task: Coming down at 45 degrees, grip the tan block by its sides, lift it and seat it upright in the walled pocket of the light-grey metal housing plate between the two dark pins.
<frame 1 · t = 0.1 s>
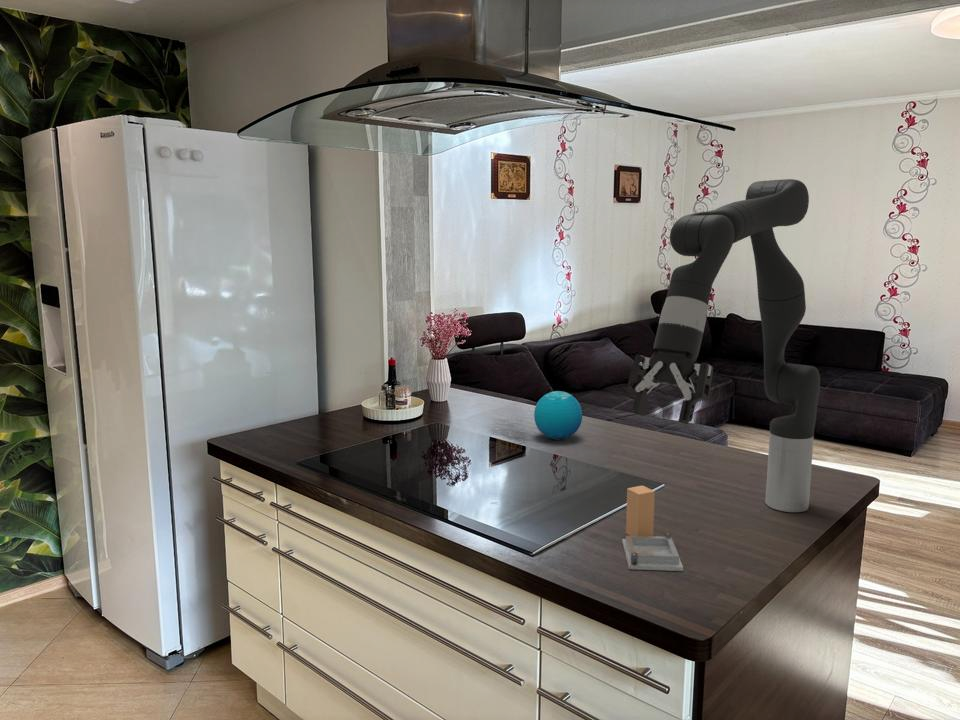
hand: (660, 419, 119), 31 cm above the worktop, tool tilted 20°, fingers open, 8 cm apart
decorative orb: (557, 439, 221), on the worktop
housing plate: (651, 556, 139), on the worktop
tan block: (639, 535, 149), on the worktop
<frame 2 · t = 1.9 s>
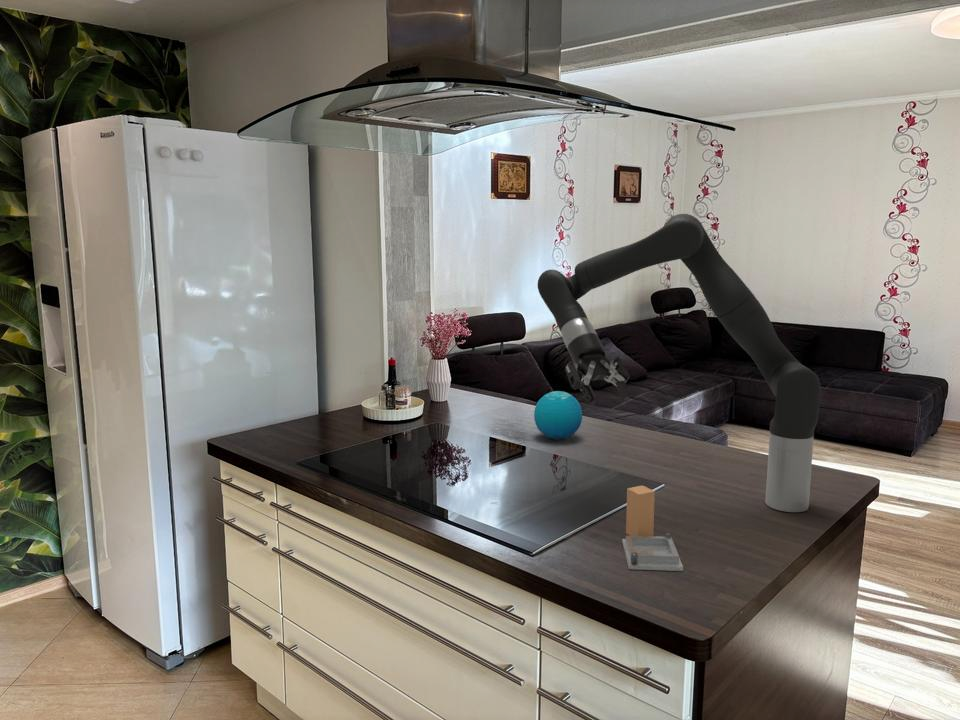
hand: (610, 400, 154), 27 cm above the worktop, tool tilted 45°, fingers open, 8 cm apart
nothing on the worktop moved.
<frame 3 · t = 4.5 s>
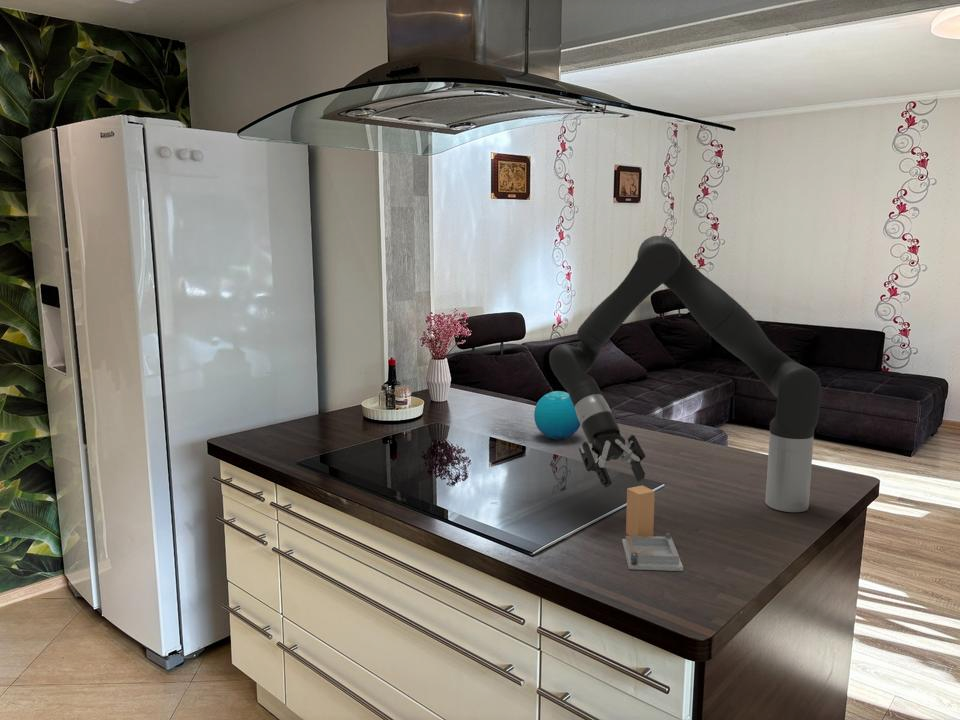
hand: (625, 482, 152), 10 cm above the worktop, tool tilted 45°, fingers open, 8 cm apart
nothing on the worktop moved.
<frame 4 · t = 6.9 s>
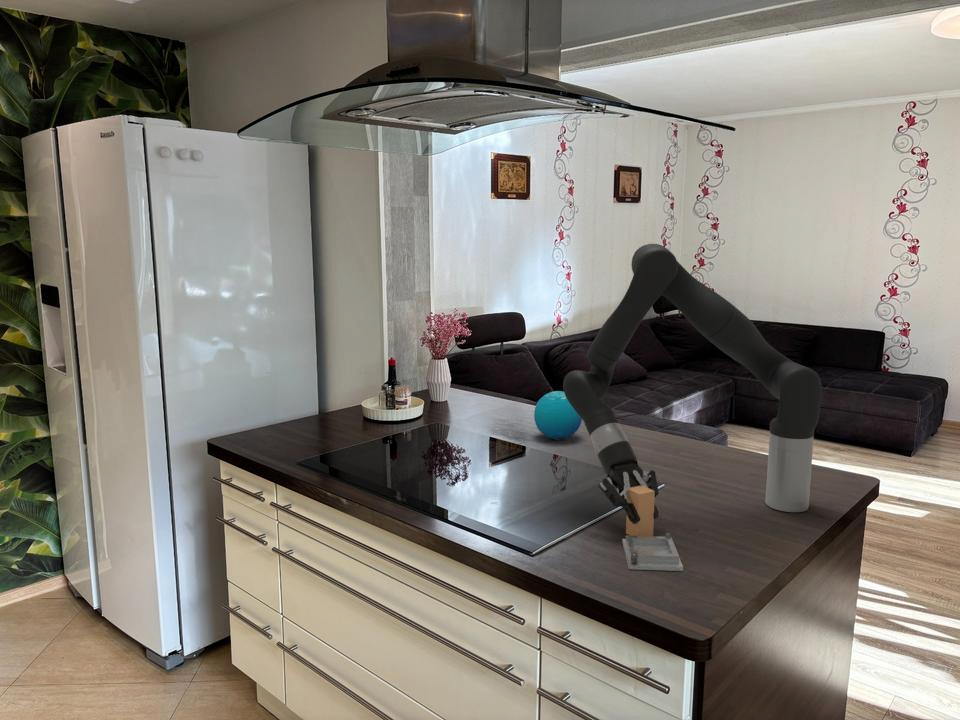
hand: (646, 519, 146), 4 cm above the worktop, tool tilted 45°, fingers closed on tan block, 4 cm apart
tan block: (639, 535, 149), on the worktop, touching gripper
everything else where it was.
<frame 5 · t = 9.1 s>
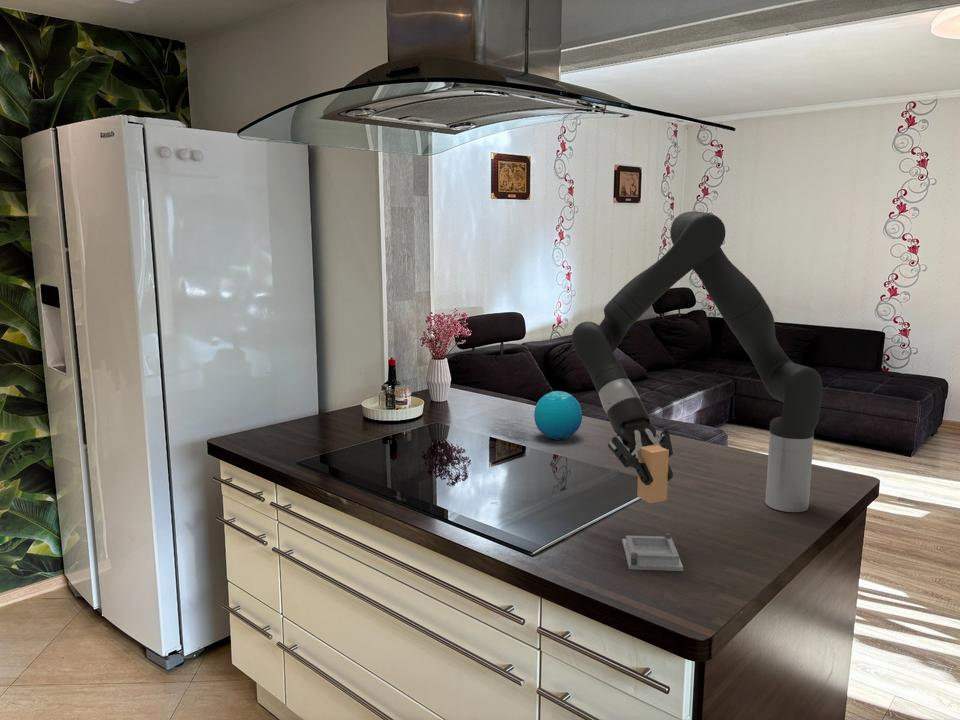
hand: (659, 481, 134), 16 cm above the worktop, tool tilted 45°, fingers closed on tan block, 4 cm apart
tan block: (652, 498, 137), point 12 cm above the worktop, touching gripper
everything else where it was.
when the fingers open (7 cm above the worktop, at t = 11.6 s): tan block drops 2 cm, resting on housing plate.
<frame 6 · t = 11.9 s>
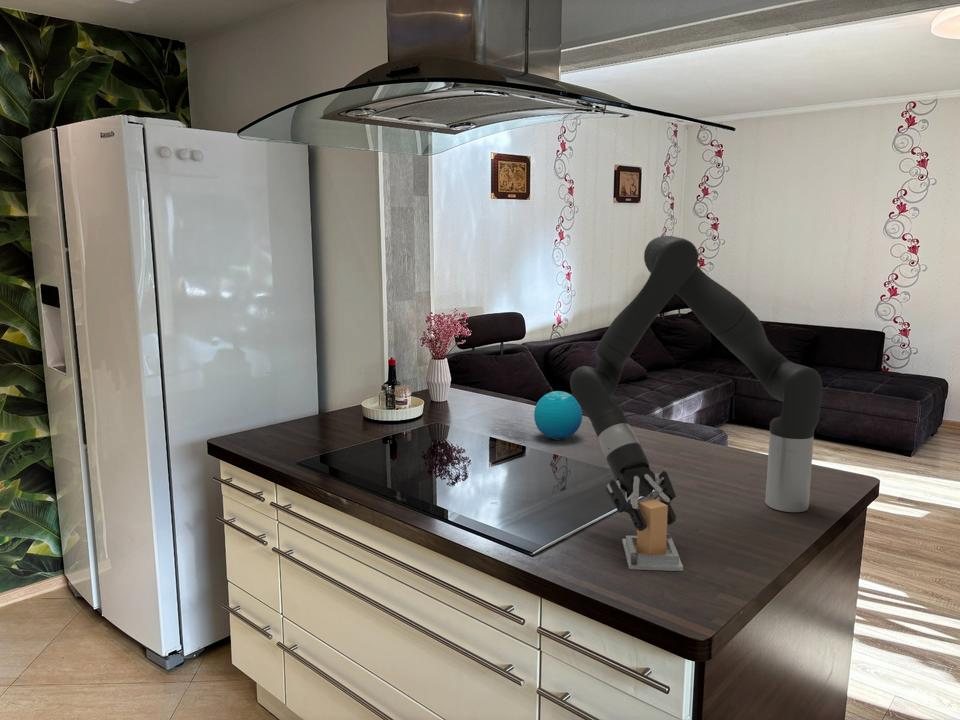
hand: (657, 525, 136), 7 cm above the worktop, tool tilted 45°, fingers open, 6 cm apart
tan block: (651, 552, 139), point 1 cm above the worktop, touching housing plate
everything else where it was.
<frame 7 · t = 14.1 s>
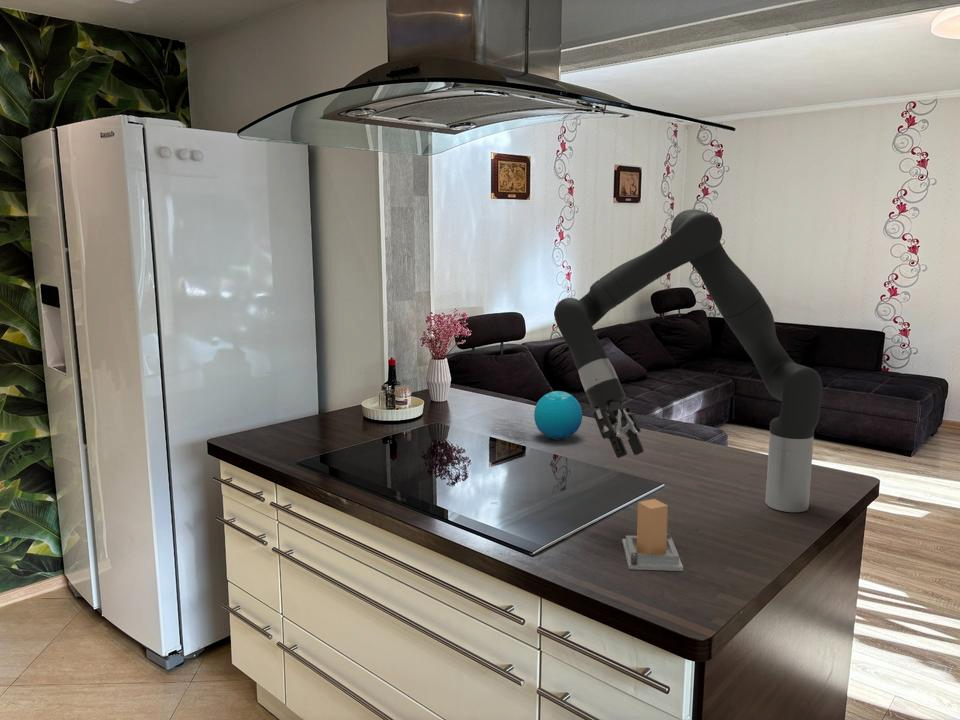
hand: (631, 455, 146), 17 cm above the worktop, tool tilted 35°, fingers open, 8 cm apart
nothing on the worktop moved.
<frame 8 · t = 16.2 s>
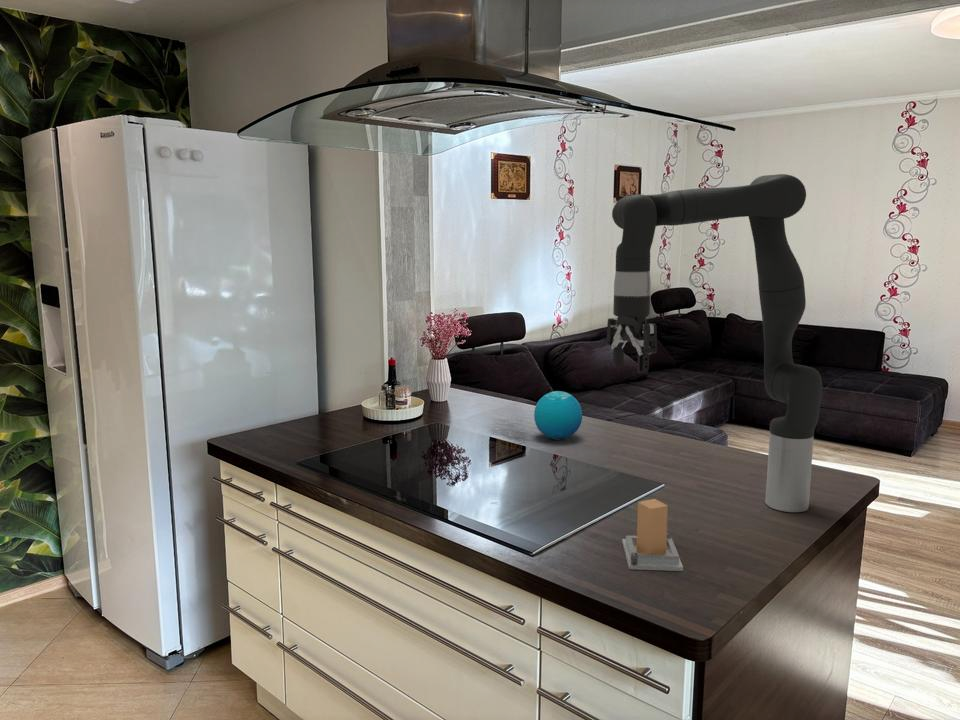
hand: (630, 369, 150), 34 cm above the worktop, tool pointing down, fingers open, 8 cm apart
nothing on the worktop moved.
at the end: tan block 0.0 cm off-centre on the housing plate, point 0.8 cm above the housing plate's base; tan block tilted 0°; the gripper is holding nothing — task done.
